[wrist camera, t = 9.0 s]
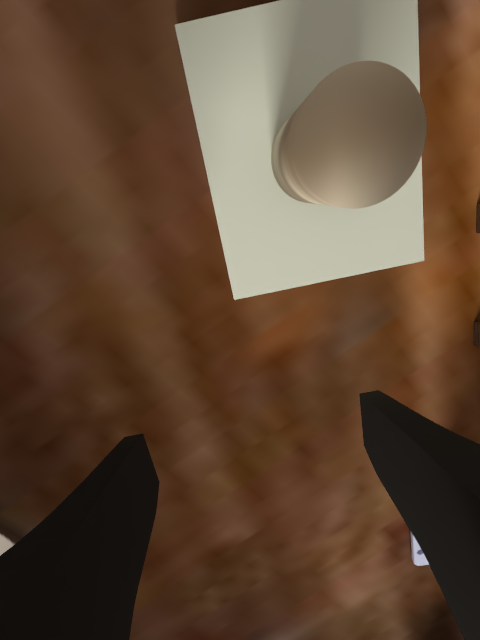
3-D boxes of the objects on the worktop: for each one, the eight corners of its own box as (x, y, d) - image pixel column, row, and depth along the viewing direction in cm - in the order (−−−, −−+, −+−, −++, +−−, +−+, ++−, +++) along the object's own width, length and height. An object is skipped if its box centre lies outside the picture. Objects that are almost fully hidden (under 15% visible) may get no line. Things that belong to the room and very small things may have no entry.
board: (412, 256, 19) (424, 260, 18) (233, 294, 19) (234, 299, 18) (402, -15, 15) (416, -32, 14) (178, 37, 16) (174, 24, 14)
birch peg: (362, 190, 17) (430, 190, 11) (280, 212, 17) (307, 222, 11) (350, 97, 15) (422, 42, 10) (262, 121, 16) (282, 82, 10)
